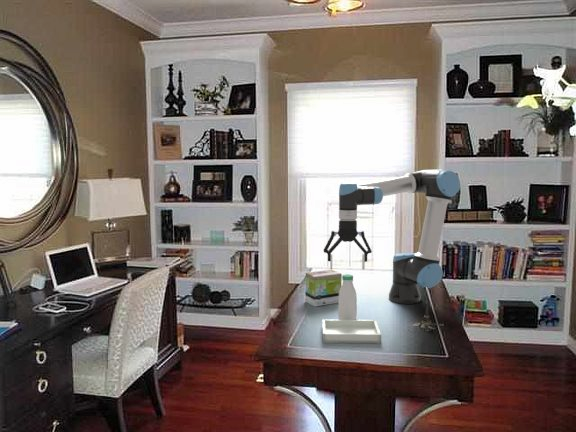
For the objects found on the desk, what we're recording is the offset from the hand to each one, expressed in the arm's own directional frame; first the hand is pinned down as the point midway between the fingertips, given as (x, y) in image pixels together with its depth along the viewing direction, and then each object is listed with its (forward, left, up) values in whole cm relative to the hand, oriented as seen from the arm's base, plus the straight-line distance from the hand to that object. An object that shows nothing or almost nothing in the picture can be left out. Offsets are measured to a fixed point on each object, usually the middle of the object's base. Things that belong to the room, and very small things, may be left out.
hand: (347, 268), depth 203 cm
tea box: (+10, -25, -23) cm, 36 cm away
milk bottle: (0, 0, -23) cm, 23 cm away
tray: (0, +17, -23) cm, 28 cm away
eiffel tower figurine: (-32, +8, -24) cm, 41 cm away
